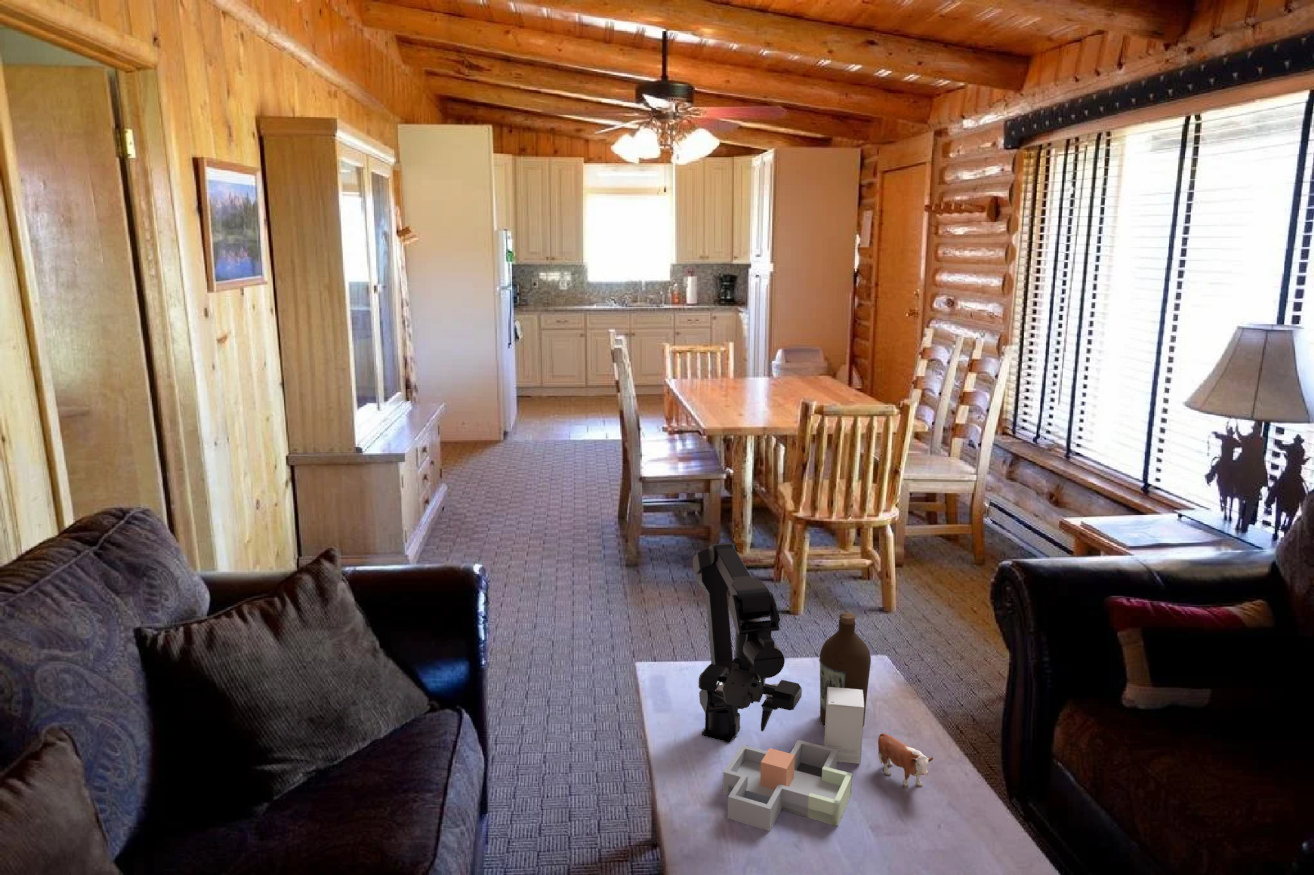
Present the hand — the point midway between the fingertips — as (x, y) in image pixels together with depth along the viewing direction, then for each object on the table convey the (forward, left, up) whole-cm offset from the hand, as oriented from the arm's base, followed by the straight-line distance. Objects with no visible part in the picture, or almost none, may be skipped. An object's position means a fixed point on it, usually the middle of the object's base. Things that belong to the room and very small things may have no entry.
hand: (748, 726), depth 166 cm
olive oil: (+11, +29, -12) cm, 33 cm away
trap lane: (+8, 0, -12) cm, 14 cm away
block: (+6, 0, -10) cm, 12 cm away
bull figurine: (+27, +14, -12) cm, 33 cm away
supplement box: (+14, +18, -12) cm, 26 cm away
